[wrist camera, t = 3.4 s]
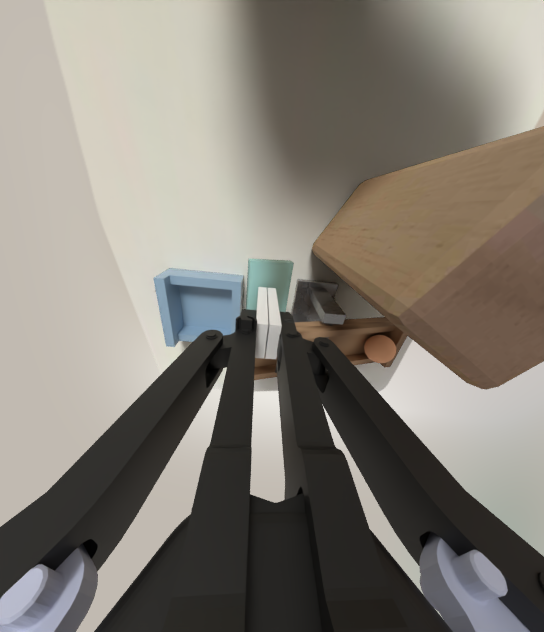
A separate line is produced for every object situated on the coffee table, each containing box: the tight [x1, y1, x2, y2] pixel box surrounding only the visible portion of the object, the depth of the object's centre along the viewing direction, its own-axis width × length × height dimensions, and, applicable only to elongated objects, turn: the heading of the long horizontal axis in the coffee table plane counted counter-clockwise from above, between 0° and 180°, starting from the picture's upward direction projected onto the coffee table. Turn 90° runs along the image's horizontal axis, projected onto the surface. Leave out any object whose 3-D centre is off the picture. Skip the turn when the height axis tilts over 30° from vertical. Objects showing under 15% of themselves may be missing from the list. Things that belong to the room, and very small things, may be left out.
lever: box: [246, 259, 407, 380], centre depth 22 cm, size 20×13×4 cm, turn 84°
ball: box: [364, 335, 396, 363], centre depth 25 cm, size 4×4×4 cm
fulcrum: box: [291, 279, 346, 325], centre depth 27 cm, size 6×11×9 cm, turn 173°
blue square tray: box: [154, 268, 243, 347], centre depth 28 cm, size 10×10×4 cm
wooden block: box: [312, 126, 544, 389], centre depth 17 cm, size 10×10×20 cm
